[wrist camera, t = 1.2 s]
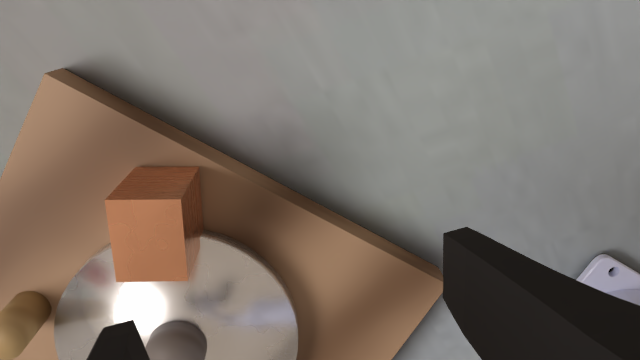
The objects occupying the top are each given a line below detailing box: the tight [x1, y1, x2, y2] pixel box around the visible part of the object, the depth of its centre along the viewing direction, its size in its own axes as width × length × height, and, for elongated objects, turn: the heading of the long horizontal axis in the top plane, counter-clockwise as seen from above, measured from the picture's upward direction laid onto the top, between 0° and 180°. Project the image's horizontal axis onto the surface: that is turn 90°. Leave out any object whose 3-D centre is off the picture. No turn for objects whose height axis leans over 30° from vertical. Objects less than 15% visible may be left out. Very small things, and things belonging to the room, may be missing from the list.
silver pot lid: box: [54, 167, 298, 360], centre depth 20 cm, size 12×10×3 cm
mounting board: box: [0, 68, 443, 360], centre depth 21 cm, size 18×15×4 cm
